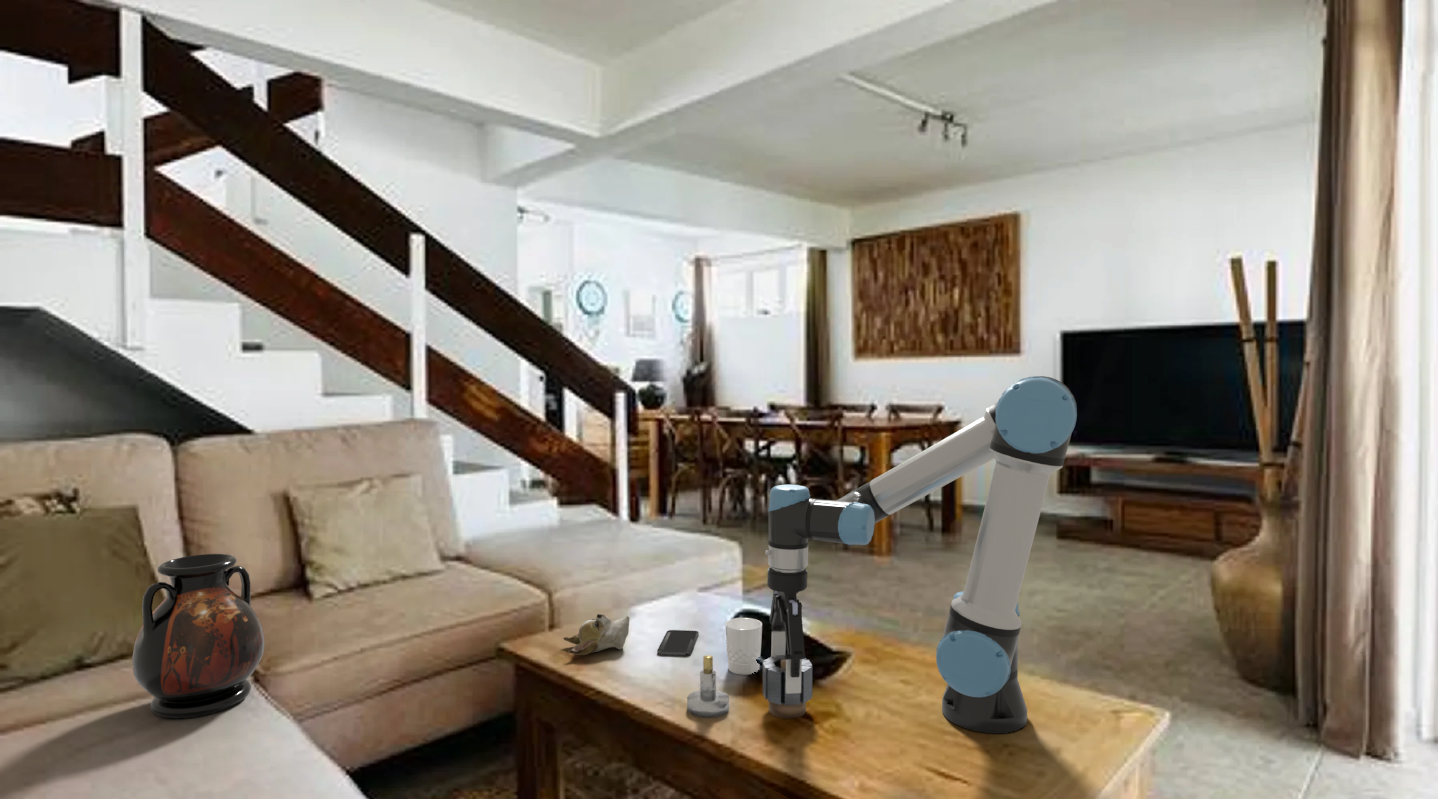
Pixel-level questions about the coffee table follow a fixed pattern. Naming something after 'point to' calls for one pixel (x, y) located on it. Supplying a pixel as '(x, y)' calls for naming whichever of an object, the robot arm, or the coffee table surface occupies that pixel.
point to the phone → (678, 643)
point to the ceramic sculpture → (599, 635)
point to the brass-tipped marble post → (708, 694)
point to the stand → (787, 706)
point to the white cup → (743, 645)
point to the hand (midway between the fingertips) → (785, 677)
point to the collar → (777, 682)
